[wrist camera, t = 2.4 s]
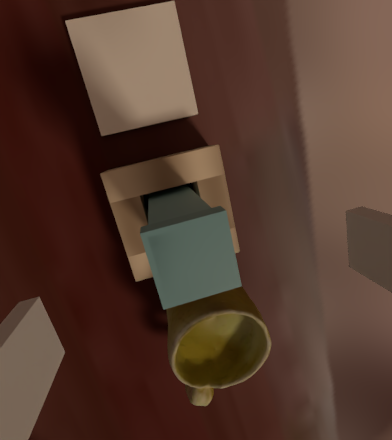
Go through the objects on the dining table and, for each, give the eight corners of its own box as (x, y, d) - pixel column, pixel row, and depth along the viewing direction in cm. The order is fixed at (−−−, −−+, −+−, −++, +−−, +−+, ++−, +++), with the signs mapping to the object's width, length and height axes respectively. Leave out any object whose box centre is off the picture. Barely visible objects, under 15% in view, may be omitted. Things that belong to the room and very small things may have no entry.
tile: (102, 136, 24) (101, 136, 24) (67, 24, 22) (64, 20, 21) (197, 114, 25) (198, 113, 25) (173, 4, 23) (174, 0, 22)
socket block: (137, 263, 28) (135, 281, 24) (107, 170, 25) (100, 173, 21) (228, 238, 29) (239, 251, 25) (208, 145, 26) (218, 144, 22)
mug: (175, 242, 26) (217, 328, 18) (248, 261, 32) (304, 333, 24) (125, 326, 30) (142, 426, 22) (197, 330, 36) (231, 411, 28)
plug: (156, 232, 27) (163, 309, 14) (144, 191, 26) (139, 233, 13) (197, 221, 28) (241, 286, 15) (187, 180, 27) (226, 210, 13)
